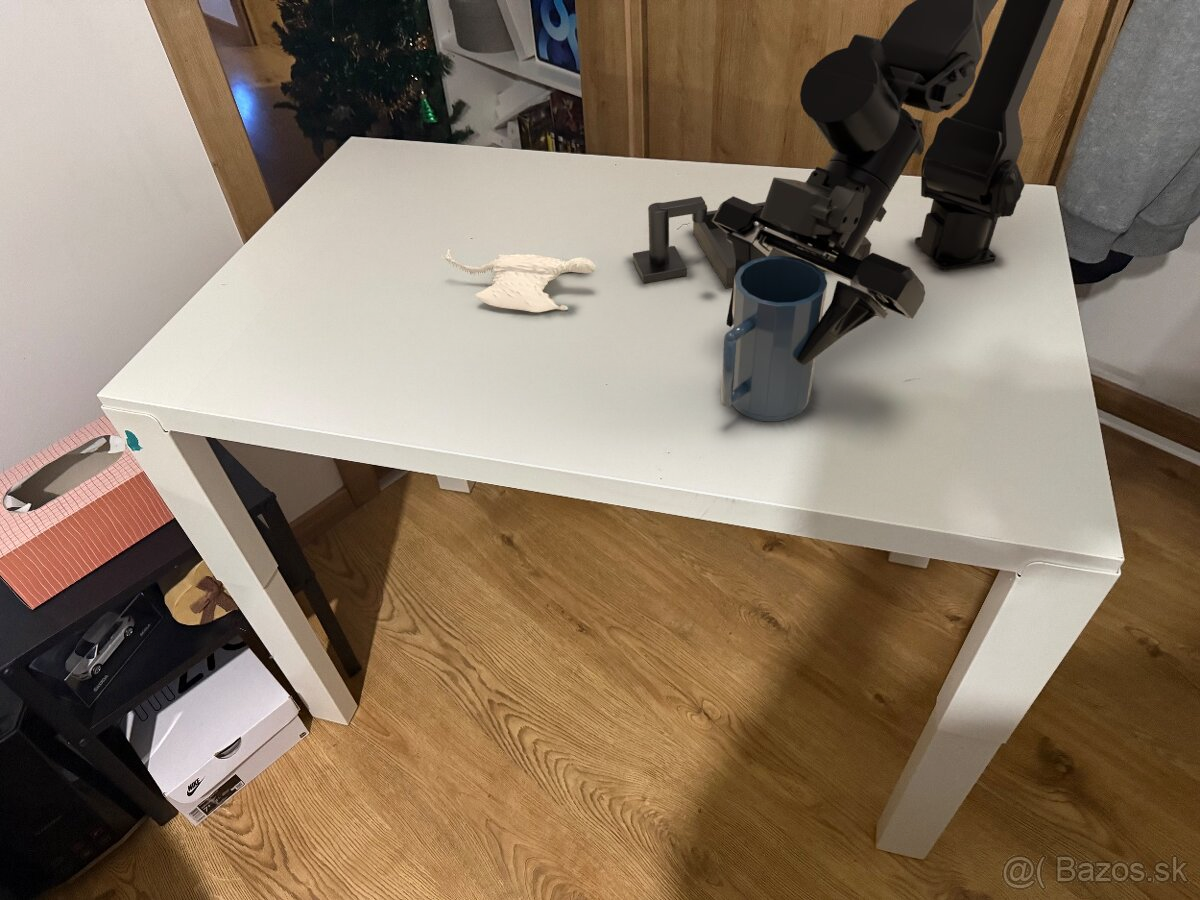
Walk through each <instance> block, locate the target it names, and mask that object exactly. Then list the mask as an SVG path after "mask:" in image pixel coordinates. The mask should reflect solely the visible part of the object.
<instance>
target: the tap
mask: <svg viewBox="0 0 1200 900" xmlns="http://www.w3.org/2000/svg"><path fill="white" fill-rule="evenodd" d="M647 211H648V213H647V214H648V217H647V218H648V245H649V246H648V250H642V251H635V252H633V253H632V261H633V264H634V266H635V268H636V270H637V272H638V275H639V276H640V278H641V281H642V283H643V284H646V283H653V282H659V281H663V280H664V281H665V280H669V279H670V280H671V279H676V278H681V277H687V275H688V267H687V266H686V264H685V262H684V260H683V258H682V256H681V255H680V253H679V251H678V250H677V247H676V246H675V245H671V246H670V218H671V219H672V218H677V217H682V216H688V215H691V220H692V222H695V223H703V222H705V221H706V220H707V212H708V205H707V204H706V201H705V199H704V198H703V196H695V197H694V196H693V197H688V198H683V199H677V200H676V199H675V200H670V201H664V202H653V203H651V204H650V205H649V206H648V208H647Z"/></svg>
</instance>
